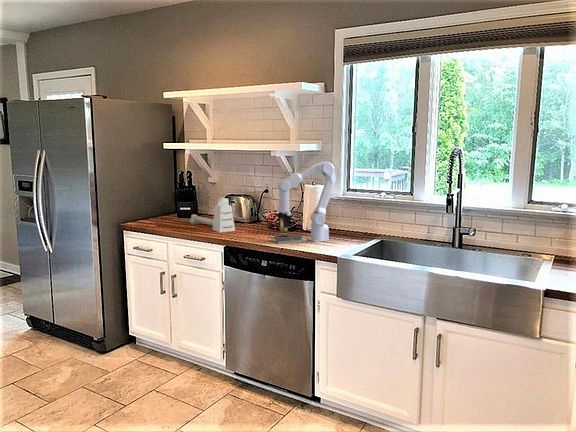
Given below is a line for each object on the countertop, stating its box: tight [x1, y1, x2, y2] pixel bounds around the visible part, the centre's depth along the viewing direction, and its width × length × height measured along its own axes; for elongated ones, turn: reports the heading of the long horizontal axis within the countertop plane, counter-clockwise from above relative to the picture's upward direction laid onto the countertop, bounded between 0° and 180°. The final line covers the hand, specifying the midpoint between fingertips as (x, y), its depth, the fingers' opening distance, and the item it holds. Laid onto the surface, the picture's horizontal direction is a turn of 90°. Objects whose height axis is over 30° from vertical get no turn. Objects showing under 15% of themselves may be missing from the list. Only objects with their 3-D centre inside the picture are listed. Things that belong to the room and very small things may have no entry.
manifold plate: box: [271, 233, 309, 245], centre depth 267 cm, size 18×9×3 cm, turn 114°
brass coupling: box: [280, 218, 289, 233], centre depth 263 cm, size 5×5×7 cm
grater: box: [212, 197, 236, 233], centre depth 297 cm, size 10×10×20 cm
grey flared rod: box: [189, 214, 214, 227], centre depth 317 cm, size 5×7×25 cm
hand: (283, 226), depth 263 cm, fingers closed on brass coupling, 4 cm apart
